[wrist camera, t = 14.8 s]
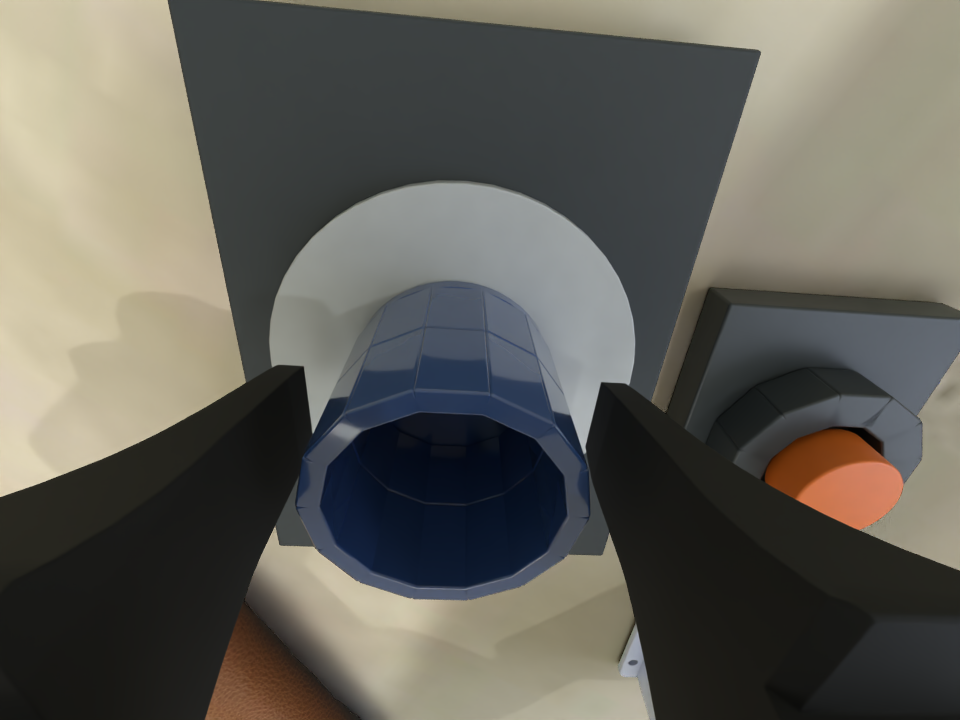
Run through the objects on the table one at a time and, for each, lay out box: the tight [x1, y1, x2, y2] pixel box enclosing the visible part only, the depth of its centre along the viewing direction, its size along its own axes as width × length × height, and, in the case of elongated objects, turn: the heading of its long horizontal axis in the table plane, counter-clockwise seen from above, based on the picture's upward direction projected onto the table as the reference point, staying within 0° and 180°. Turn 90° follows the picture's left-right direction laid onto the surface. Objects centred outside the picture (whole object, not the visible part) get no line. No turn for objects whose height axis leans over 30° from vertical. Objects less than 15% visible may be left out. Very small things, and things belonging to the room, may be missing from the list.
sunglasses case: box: [205, 601, 361, 720], centre depth 24 cm, size 18×7×7 cm
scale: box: [168, 0, 761, 555], centre depth 14 cm, size 16×12×3 cm
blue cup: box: [295, 281, 591, 600], centre depth 11 cm, size 5×5×5 cm
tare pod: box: [666, 288, 960, 485], centre depth 16 cm, size 10×8×3 cm
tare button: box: [765, 429, 903, 530], centre depth 15 cm, size 3×3×2 cm
